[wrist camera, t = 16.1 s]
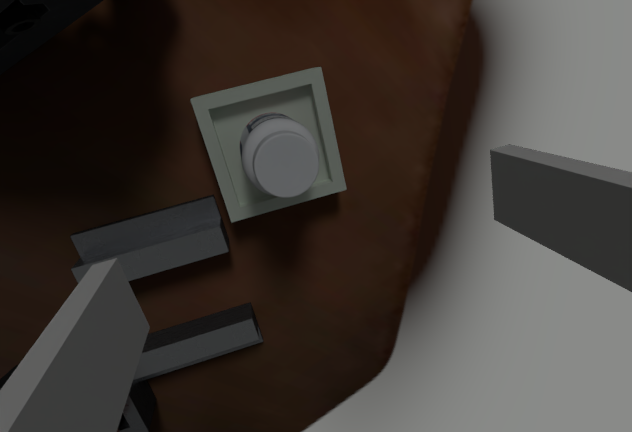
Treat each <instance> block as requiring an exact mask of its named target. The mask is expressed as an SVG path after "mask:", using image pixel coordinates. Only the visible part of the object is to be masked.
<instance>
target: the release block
mask: <svg viewBox="0 0 632 432" xmlns="http://www.w3.org/2000/svg"><path fill="white" fill-rule="evenodd" d="M155 403H156V397H155V395H154V393H153V391H152V389H151V387H150V386H149V384H148V382H147V380H143V378H142V377H141V378H138V379H135V380H133V382H132V385H131V388H130V391H129V394H128V397H127V401H126V404H125V407H124V410H123V413H122V416H121V419H120V422H119V426H118V429H119V431H120V432H149V429H150V425H151V420H152V416H153V412H154V407H155Z"/></svg>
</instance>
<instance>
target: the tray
mask: <svg viewBox="0 0 632 432" xmlns="http://www.w3.org/2000/svg"><path fill="white" fill-rule="evenodd" d="M190 100H191V103H192V106H193V109H194V112H195V115H196V118H197V121H198V124H199V127H200V130H201V133H202V136H203V139H204V142H205V145H206V148H207V151H208V154H209V157H210V160H211V163H212V166H213V169H214V172H215V175H216V178H217V181H218V184H219V187H220V190H221V193H222V196H223V199H224V202H225V205H226V208H227V211H228V214H229V217H230V220H231V223H232V222H235V221H239V220H242V219H246V218H249V217H253V216H256V215H260V214H263V213H267V212H270V211H274V210H277V209H281V208H284V207H287V206H291V205H294V204H298V203H301V202H305V201H308V200H312V199H315V198H319V197H322V196H326V195H329V194H333V193H336V192H340V191H343V190H347V189H346V184H345V180H344V175H343V170H342V165H341V160H340V156H339V151H338V146H337V141H336V136H335V132H334V127H333V122H332V117H331V112H330V107H329V103H328V98H327V93H326V88H325V83H324V79H323V74H322V69H321V67H316V68H311V69H307V70H303V71H299V72H294V73H290V74H286V75H282V76H278V77H274V78H270V79H266V80H262V81H258V82H254V83H250V84H246V85H242V86H238V87H234V88H230V89H226V90H222V91H218V92H214V93H210V94H206V95H202V96H198V97H194V98H192V99H190ZM269 112H275V113H281V114H284V115H286V116H288V117H290V118H291V119H293V120H295V121H297V122H299V123H300V124H302V125H303V126H304V127H306V128H307V129H308V130H309V131H310V133H311V134H312V135H313V137H314V138H315V140H316V143H317V145H318V149H319V171H318V175H317V177H316V180H315V181H314V183H313V184H312V186H311V187H310V188H309V189H308V190H307V191H305V192H304V193H302V194H300V195H298V196H295V197H290V198H282V197H277V196H273V195H269V194H266V193H264V192H262V191H260V190H259V189H257V188H256V187H255V186H254V185H253V184H252V183H251V182H250V181H249V179H248V178H247V176H246V174H245V172H244V169H243V166H242V160H241V154H240V139H241V135H242V132H243V130H244V128H245V127H246V125H247V124H248V123H249V122H250V121H251V120H252V119H253V118H255V117H256V116H258V115H260V114H264V113H269Z"/></svg>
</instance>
